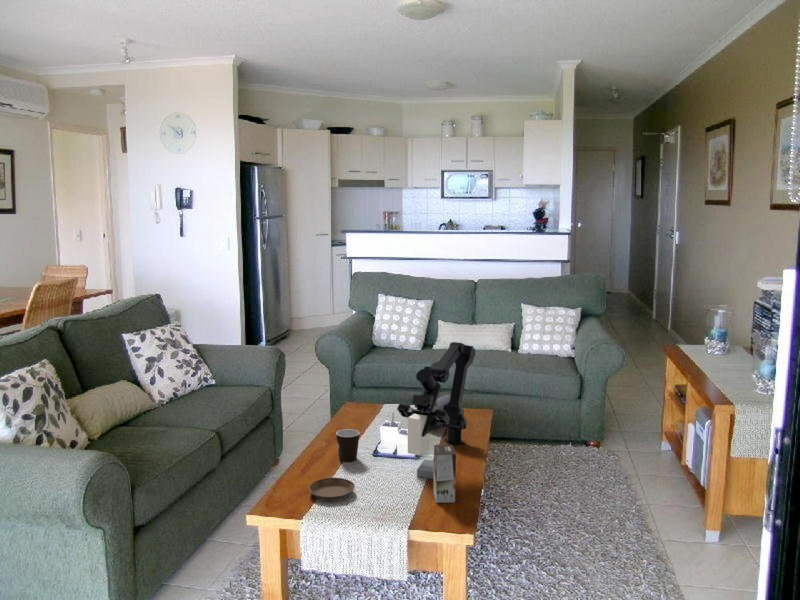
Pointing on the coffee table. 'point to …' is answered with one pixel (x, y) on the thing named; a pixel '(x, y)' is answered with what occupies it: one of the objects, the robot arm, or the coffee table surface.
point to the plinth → (426, 469)
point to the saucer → (331, 489)
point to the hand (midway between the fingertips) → (415, 435)
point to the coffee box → (444, 473)
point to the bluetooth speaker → (441, 403)
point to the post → (417, 434)
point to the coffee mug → (347, 444)
